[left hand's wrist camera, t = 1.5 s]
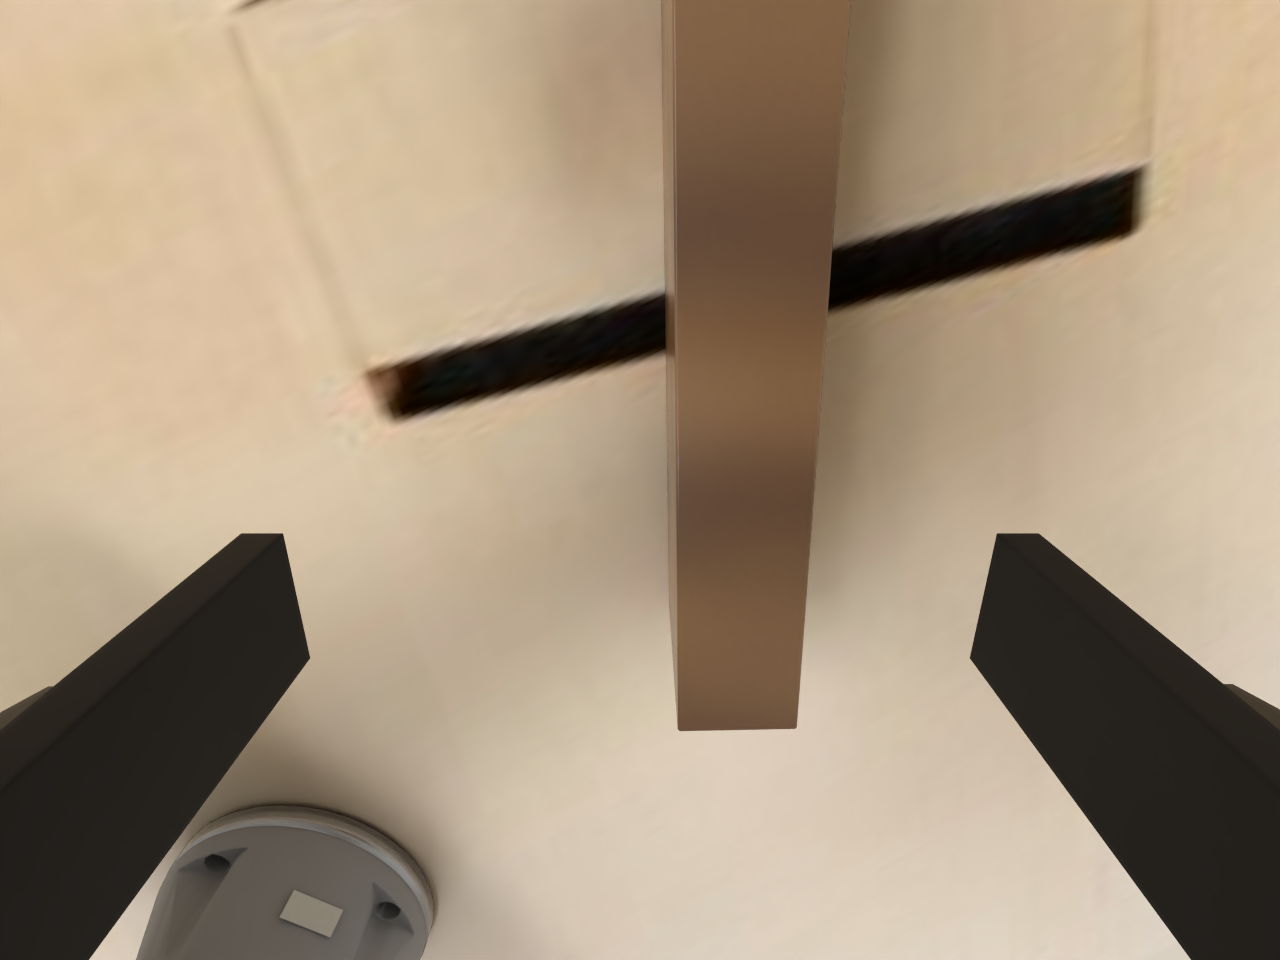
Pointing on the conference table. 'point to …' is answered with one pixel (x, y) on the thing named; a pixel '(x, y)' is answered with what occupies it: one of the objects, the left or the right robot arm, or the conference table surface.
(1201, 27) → the conference table surface
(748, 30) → the post
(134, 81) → the conference table surface
